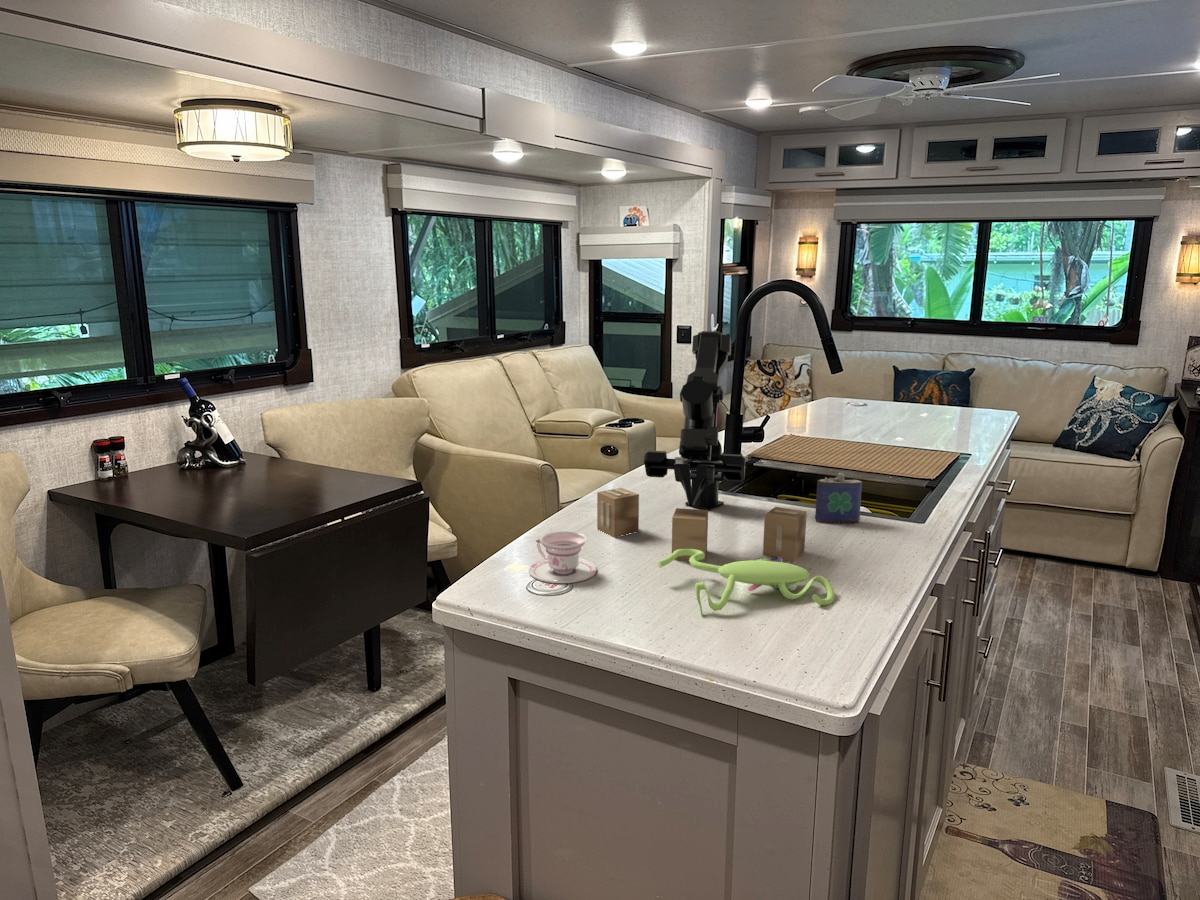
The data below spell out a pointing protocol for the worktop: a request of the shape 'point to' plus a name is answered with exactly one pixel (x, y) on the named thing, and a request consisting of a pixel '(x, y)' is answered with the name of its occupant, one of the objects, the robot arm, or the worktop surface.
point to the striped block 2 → (784, 533)
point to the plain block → (689, 531)
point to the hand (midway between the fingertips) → (690, 505)
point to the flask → (838, 500)
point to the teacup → (562, 558)
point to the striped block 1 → (617, 512)
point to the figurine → (753, 576)
